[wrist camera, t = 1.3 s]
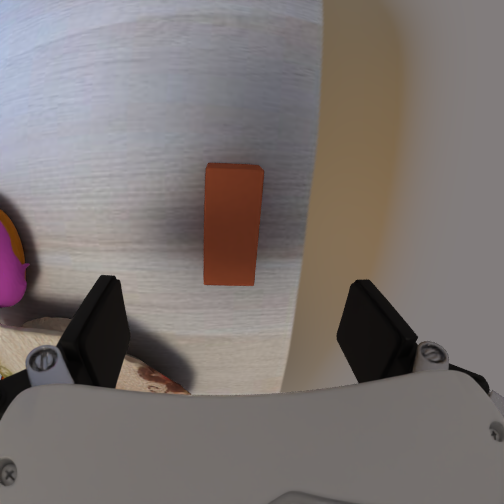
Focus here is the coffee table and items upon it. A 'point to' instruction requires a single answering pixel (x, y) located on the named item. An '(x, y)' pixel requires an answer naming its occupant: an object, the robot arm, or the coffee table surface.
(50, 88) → the coffee table surface
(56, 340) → the religious ornament
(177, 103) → the coffee table surface
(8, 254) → the donut
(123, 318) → the robot arm
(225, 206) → the orange rectangular block
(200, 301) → the coffee table surface
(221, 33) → the coffee table surface
